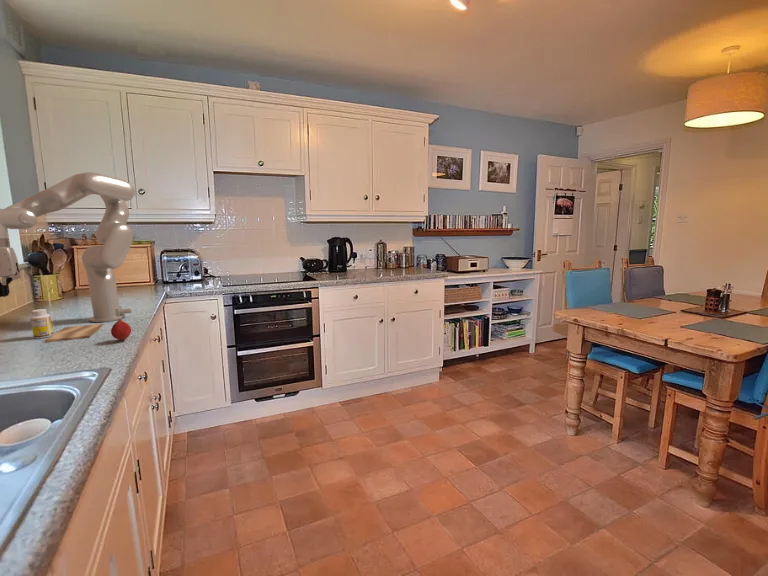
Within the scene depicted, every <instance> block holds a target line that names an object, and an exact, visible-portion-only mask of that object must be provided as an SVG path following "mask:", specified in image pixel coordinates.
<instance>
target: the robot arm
mask: <svg viewBox="0 0 768 576" xmlns="http://www.w3.org/2000/svg"><path fill="white" fill-rule="evenodd" d="M135 193H136V191H135V187H134V186H133V185H132V183H130V182H129V181H126V180H124V179H121V178H116V177H112V176H110V175H109V176H108V175H105V174H101V173H98V172H97V173H96V172H90V171H89V172H82V173H81V172H80V173H76V174H74V175H71V176H69V177H68V178H66V179H64V180H61V181H59V182H58V183H56V184H54V185H52V186H50V187H48V188H46V189H43V190H41V191H38V192H36V193H34V194H33V195H30V196H28V197H26V198H24V199H20V200H19V201H16V202H15V203H13V204H10V205H9V206H7V207H4V208H0V278H1V279H0V298H1V297H3V298H5V297H9V296H10V293H11V292H10V286H9V285H10V284H11V282H13V281H14V280H19V279H20V278H21V274H20V273H21V270H20V264H19V261H18V256H17V255H16V252H15V249H14V248H13V247H11V241H10V238H9V232H8V231H9V230H27V229H31V228H34V227H35V226H36V225H37V223H38V217H41V216H44V215H46V214H50V213H54V212H59V211H61V210H62V211H63V210H65V209H66V208H68V207H70V206H71V205H74V204H75V203H76V202H79V201H80V200H83V199H84V198H86V197H88V196H90V195H98V196H100V198H101V200H102V201H103V202H104V206H105V212H104V214H103V216H102V219H101V221H100V224H98V227H97V229H96V232H95V238H96V240H97V241H98V242H99V243H100V244H102V245H93V246H88V247H87V248H85V250H84V251H83V252H82V256H81V261H82V264H83V267H84V270H85V273H86V277H87V283H88V289H89V295H90V296H89V297H90V303H91V308H92V315H93V316H91V317H89V322H90V323H106V322H113V321H118V320H119V319H124V318H125V317H126V314H131V313H132V308H128V307H127V308H123V306H121V305H120V302H119V301H120V300H119V295H118V294H119V293H118V288H117V281H116V280H117V279H116V275H115V273H114V270H116V269H118V268H120V267H121V266H122V264H123V263H124V261H126V260H125V259H126V258H127V255H128V253H129V251H130V248H131V247H132V244H133V241H134V233H133V230H132V228H131V226H129V225H128V224H127V222H128V220H129V215H130V211H129V207H128V205H127V203H126V202H129V201H131V200H132V199H133V198H134V196H135V195H136V194H135ZM8 229H9V230H8Z"/></svg>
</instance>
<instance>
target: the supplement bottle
mask: <svg viewBox="0 0 768 576" xmlns="http://www.w3.org/2000/svg"><path fill="white" fill-rule="evenodd" d="M29 319H30V325H31V330H32V335H33V338H34V339H40V338H41V339H47V338H49V337H51V336H52V335H54V329H53V324H52V320H51V319H52V318H51V315H50V314H49V313H48V311H47V309H46V308H39V309H34V310H31V316H30V317H29ZM46 337H47V338H46Z"/></svg>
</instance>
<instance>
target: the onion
mask: <svg viewBox="0 0 768 576" xmlns="http://www.w3.org/2000/svg"><path fill="white" fill-rule="evenodd" d="M111 327H112V328H111V330H110V334H111V336H112V337H113V338H115V339H116V340H118V341H121V342H124V341H126V340H127V338H129V336H130V335H131V333H132V328H131V325H130V324H128V322H125V321H123V318H121V319H118V320H116V322H115V323H113V325H112V326H111Z"/></svg>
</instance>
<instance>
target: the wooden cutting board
mask: <svg viewBox="0 0 768 576" xmlns="http://www.w3.org/2000/svg"><path fill="white" fill-rule="evenodd" d="M103 325H104V323H94V324H85V325H75V326H64V327H63V328H61V329H60V330H58V331H57V332H55V333H53V335H52V336H50V337H47V338H45V339H44V342H45V343H53V342H52V341H54V342H62V341H61V340H64V341H70V340H71V341H73V340H80V339H81V340H82V339H88V338H89V339H90V338H91V337H92V336H93V335H94V334H95V333H97V332H98V331H99V330H100V329H102V328H103V327H104V326H103ZM102 326H103V327H102ZM72 339H73V340H72Z"/></svg>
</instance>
